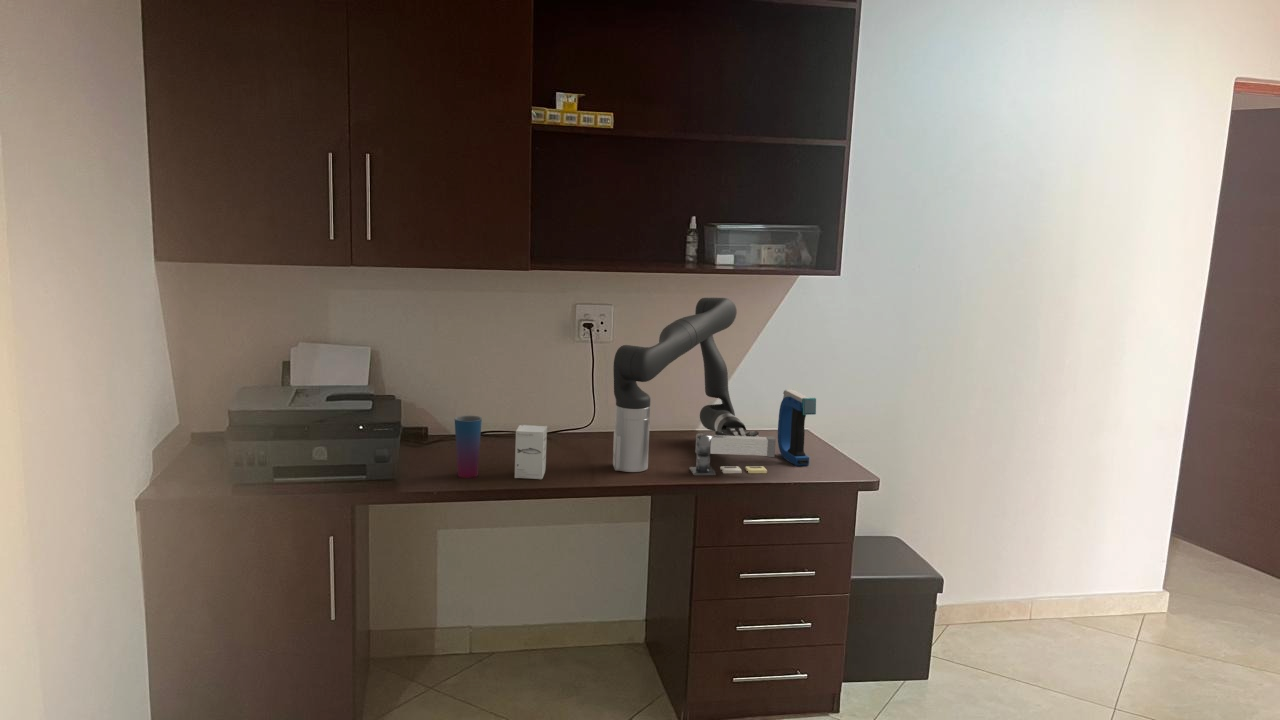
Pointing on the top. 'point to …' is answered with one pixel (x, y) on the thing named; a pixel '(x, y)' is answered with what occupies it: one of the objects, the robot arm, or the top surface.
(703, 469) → the gray square plate
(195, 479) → the top surface
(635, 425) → the robot arm
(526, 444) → the supplement box
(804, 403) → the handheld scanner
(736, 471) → the label plate
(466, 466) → the cup
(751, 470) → the label plate
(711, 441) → the bar
